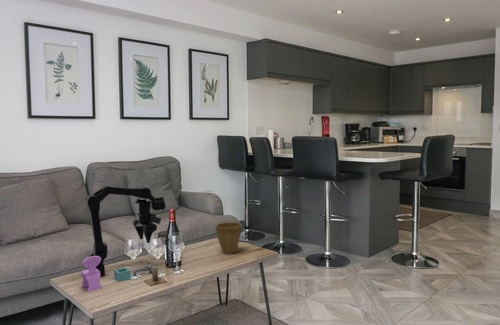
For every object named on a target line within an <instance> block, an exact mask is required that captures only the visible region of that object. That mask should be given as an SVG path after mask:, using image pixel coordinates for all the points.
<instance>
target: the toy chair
mask: <svg viewBox="0 0 500 325" xmlns="http://www.w3.org/2000/svg"><path fill="white" fill-rule="evenodd" d="M100 262H101V258H100V257H99V256H91V257H90V256H88V257H86V258H84V259H83V260H82V262H81V265H82V266H83V267H84V268H85V270H81V271H80V275H81V277H82V285H81V287H82V288H83V287H87V286H88V288H87V293H89V292H93V291H97V290H100V289H103V288H102V286H101V283H100V278H101V276H100V271H99V270H97V269H96V266H97V265H98V264H99V263H100Z"/></svg>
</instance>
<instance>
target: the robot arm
mask: <svg viewBox="0 0 500 325" xmlns="http://www.w3.org/2000/svg"><path fill="white" fill-rule="evenodd" d="M108 195H118V196H121V195H122V196H132V197H136V198H137V199H136V200H135V201H134V203H135V204H138V212H137V216H138V219H134V220H133V221H132V226H133V227H134V228H135V231H136V233H137V235H138V237H139V240H143V239H145V241H146V243H147V244H150V243H151V239H152V235H153V233H154V232H156V231H157V230H158V225H160V224H161V221H162V218H161V217H158V216H157V214H156V213H151V209H152V210H153V211H163V210H165V209H166V202H165V197H164V196H160V197H159V196H158V197H154V195H153V194H152V190H151V188H148V187H146V186H137V187H126V186H125V187H123V186H114V185H113V186H110V185H104V186H103V187H101V188H99V189H98V190H97V191H95V192H94V193H93V194H90V195H88V196H86V198H85V205H86V207H87V210H88V211H89V212H88V213H89V214H90V215H89V216H90V221H91V222H90V223H91V229H92V230H91V231H92V237H93V245H92V253H91V254H90V255H89V257H91V256H99V257H100V258H101V262H100V263H99V264H98V265H97V266H96V269H97V270H99V271H100V277H104V276H106V273H105V272H106V270H105V269H106V267H105V264H104V261H105V260H106V258H107V257H108V254H109V251H108V244H107V242H104V241H103V235H102V228H101V219H100V209H101V202H103V201H104V200H105V198H106V197H108Z"/></svg>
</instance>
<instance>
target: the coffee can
mask: <svg viewBox="0 0 500 325" xmlns="http://www.w3.org/2000/svg"><path fill="white" fill-rule="evenodd" d="M167 231H168V230H162V231H159V232H157V234H156V235H157V239H158V238H160V239H161V240H162V242H163V243H164V244H165V240H166V234H167ZM159 260H161V261H166V260H165V254H163V255H162V256H161V258H160V259H159Z"/></svg>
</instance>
